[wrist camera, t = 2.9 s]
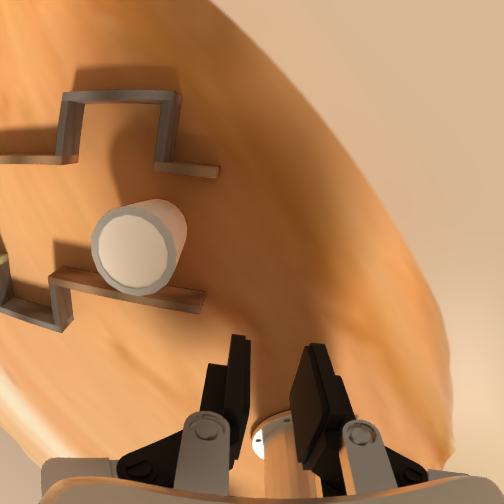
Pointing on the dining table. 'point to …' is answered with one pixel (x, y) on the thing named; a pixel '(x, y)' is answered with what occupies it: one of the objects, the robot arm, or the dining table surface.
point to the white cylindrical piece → (139, 245)
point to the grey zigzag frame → (67, 153)
